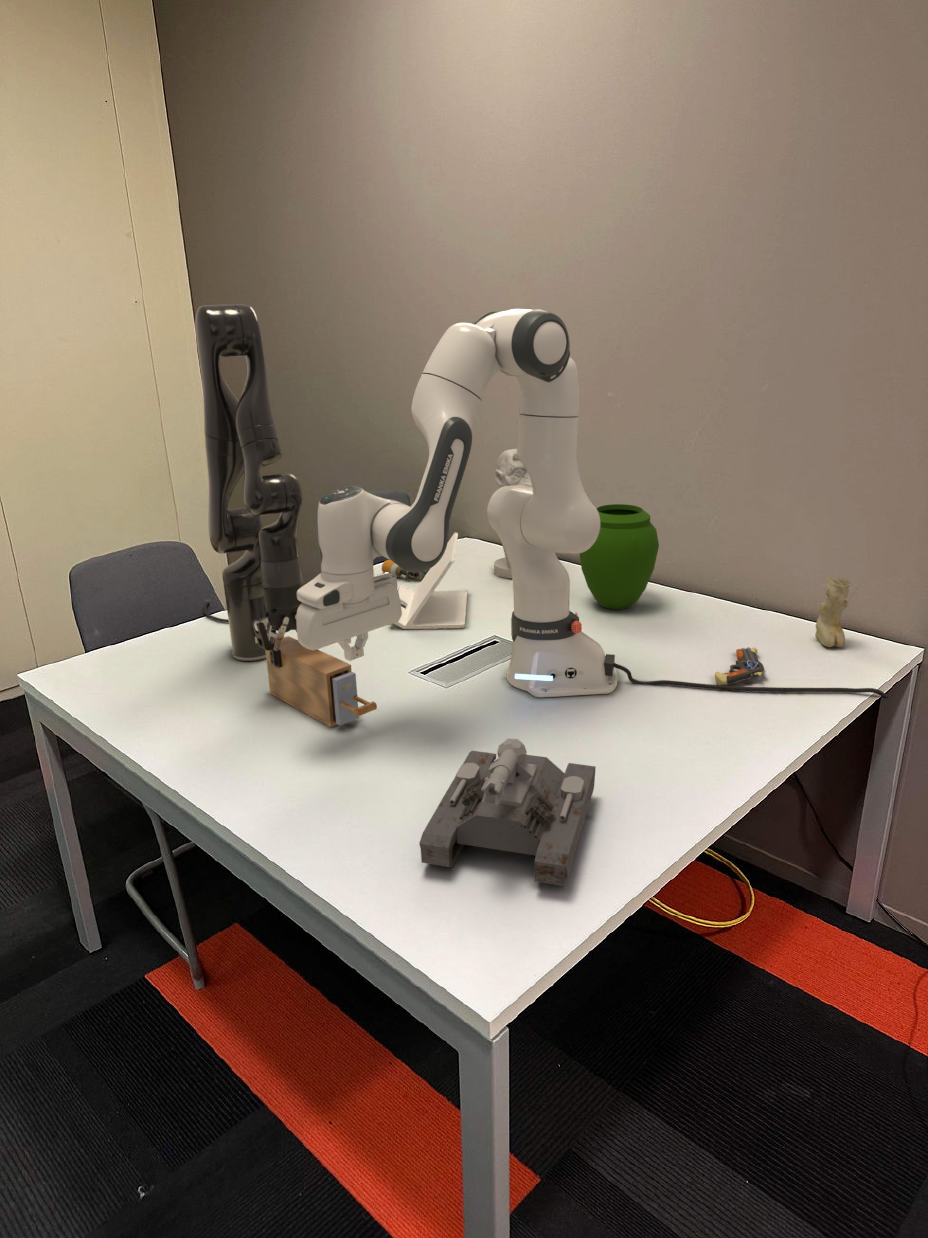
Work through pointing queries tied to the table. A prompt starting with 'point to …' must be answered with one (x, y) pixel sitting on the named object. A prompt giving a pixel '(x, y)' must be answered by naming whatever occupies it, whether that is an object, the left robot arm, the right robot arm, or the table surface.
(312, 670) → the cabinet
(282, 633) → the left robot arm
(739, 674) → the toy gun
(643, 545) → the vase
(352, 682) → the drawer
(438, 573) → the tablet stand
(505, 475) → the bust sculpture
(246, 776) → the table surface
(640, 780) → the table surface
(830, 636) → the sculpture
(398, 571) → the spray gun
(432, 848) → the toy
